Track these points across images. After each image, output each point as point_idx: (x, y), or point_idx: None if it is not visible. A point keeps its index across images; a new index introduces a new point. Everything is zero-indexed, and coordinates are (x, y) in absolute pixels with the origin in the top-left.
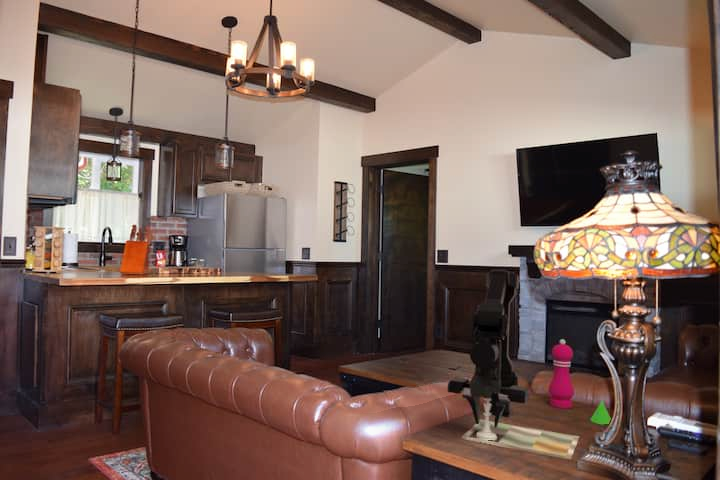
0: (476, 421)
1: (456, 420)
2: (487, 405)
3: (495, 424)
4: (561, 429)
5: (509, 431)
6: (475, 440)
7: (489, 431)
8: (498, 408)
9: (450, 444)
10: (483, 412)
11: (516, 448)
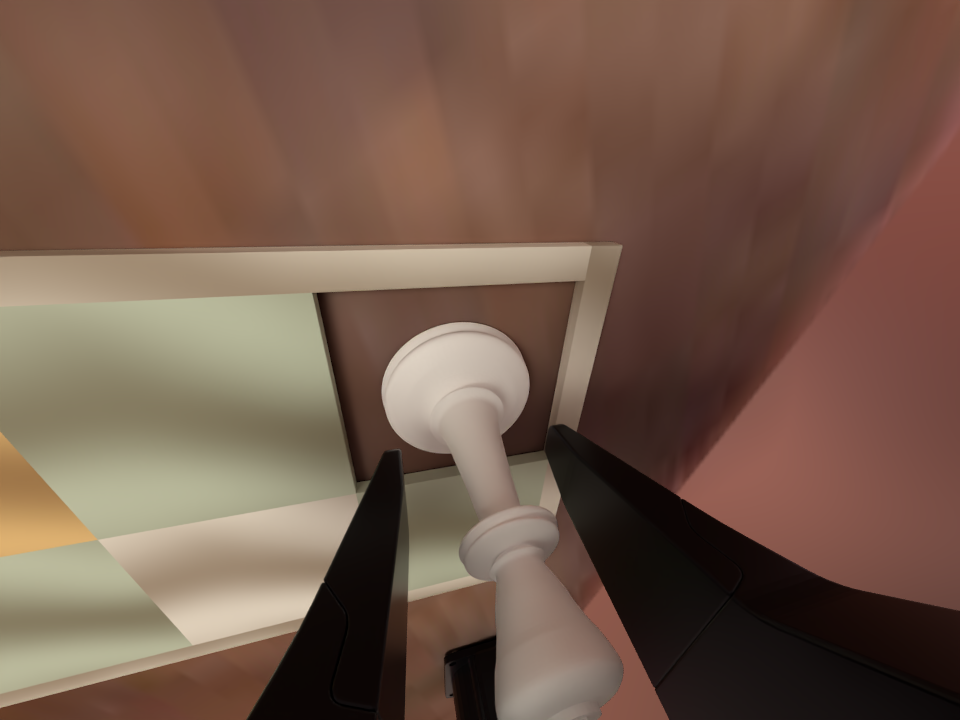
0: (573, 434)
1: None
2: (554, 670)
3: (391, 467)
4: (162, 709)
5: None
6: (509, 245)
7: (439, 408)
8: (328, 711)
9: (704, 8)
10: (555, 544)
11: (73, 251)
